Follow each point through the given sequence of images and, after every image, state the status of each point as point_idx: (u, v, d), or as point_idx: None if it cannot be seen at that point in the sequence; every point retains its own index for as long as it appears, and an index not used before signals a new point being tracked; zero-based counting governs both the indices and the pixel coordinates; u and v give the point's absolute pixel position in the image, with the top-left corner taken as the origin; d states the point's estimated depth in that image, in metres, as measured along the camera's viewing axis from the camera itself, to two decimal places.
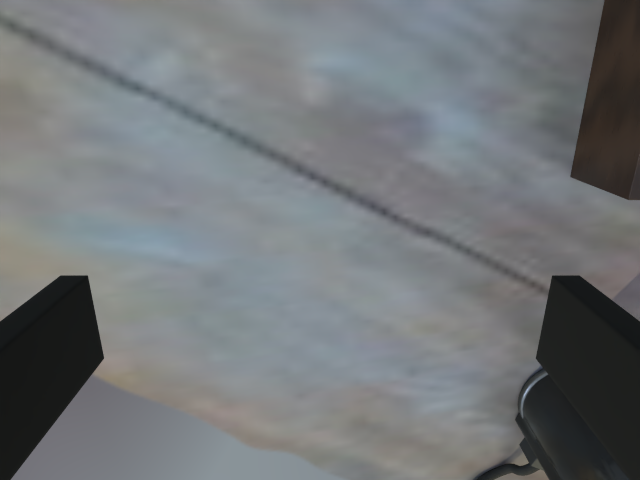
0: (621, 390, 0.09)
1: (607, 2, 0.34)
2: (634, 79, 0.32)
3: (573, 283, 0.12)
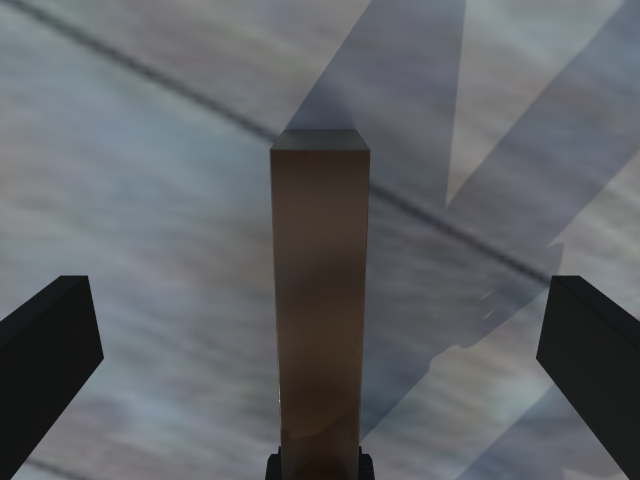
0: (621, 390, 0.09)
1: None
2: None
3: (573, 283, 0.12)
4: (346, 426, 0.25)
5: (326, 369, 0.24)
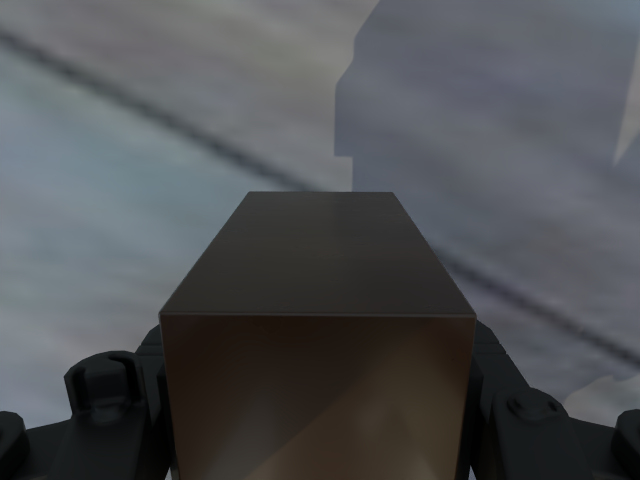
0: None
1: None
2: None
3: None
4: None
5: None
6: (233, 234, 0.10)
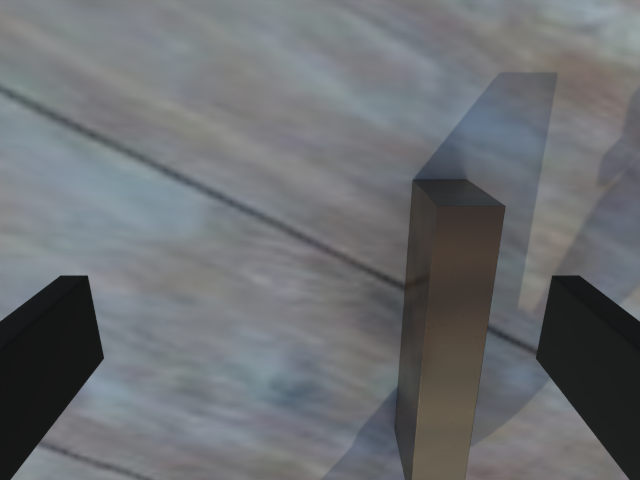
0: (621, 390, 0.09)
1: (404, 313, 0.40)
2: (410, 403, 0.37)
3: (573, 283, 0.12)
4: (467, 399, 0.34)
5: (458, 357, 0.33)
6: (429, 192, 0.32)
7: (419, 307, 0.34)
